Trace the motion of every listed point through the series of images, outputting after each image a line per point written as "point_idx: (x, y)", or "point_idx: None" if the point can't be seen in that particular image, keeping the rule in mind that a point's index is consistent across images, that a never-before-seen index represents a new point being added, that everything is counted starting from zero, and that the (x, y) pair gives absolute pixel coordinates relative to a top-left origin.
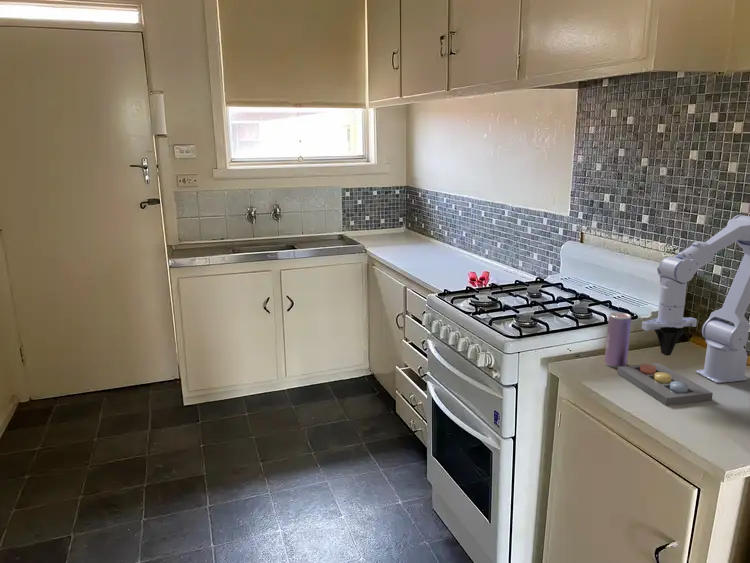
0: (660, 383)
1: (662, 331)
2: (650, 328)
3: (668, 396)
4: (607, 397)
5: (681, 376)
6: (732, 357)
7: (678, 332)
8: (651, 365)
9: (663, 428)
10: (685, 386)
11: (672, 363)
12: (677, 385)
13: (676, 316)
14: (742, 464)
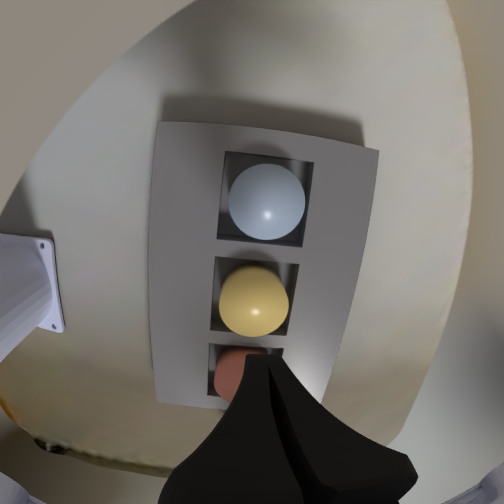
0: (279, 279)
1: (396, 500)
2: (472, 495)
3: (362, 158)
4: (458, 267)
5: (155, 296)
6: None
7: (279, 497)
8: (223, 387)
9: (452, 69)
10: (256, 174)
11: (96, 393)
12: (283, 196)
13: None
14: None
